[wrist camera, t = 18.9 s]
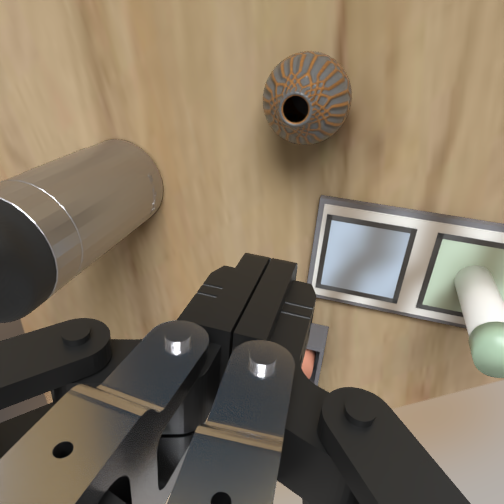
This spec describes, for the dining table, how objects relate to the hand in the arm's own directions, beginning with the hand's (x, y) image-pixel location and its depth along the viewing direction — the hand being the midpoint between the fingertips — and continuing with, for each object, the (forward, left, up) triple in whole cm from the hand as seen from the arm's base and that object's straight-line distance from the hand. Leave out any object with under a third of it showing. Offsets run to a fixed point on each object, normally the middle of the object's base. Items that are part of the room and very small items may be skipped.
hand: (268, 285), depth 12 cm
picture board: (+9, -13, -29) cm, 33 cm away
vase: (-3, +1, -29) cm, 30 cm away
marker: (+14, -13, -28) cm, 34 cm away
